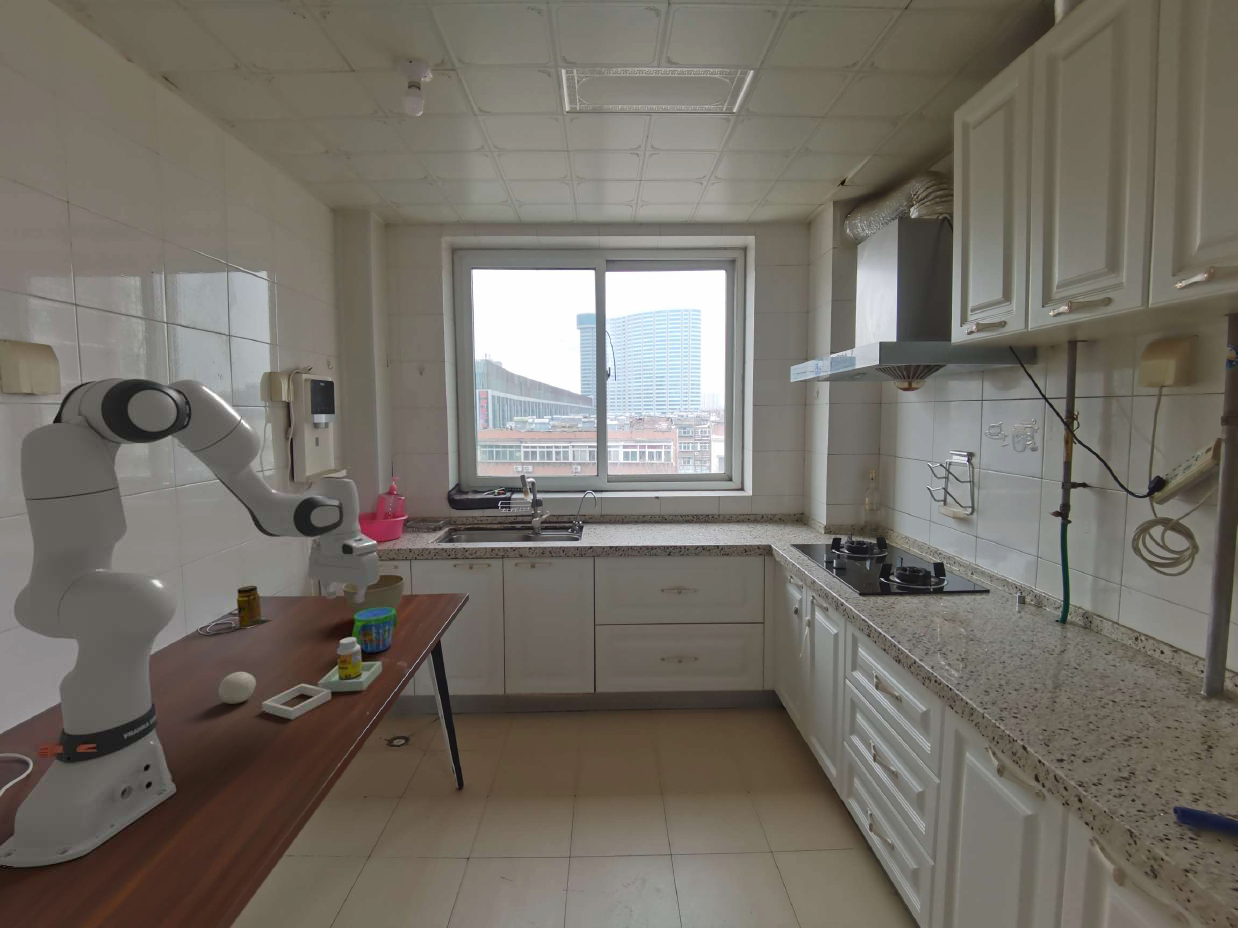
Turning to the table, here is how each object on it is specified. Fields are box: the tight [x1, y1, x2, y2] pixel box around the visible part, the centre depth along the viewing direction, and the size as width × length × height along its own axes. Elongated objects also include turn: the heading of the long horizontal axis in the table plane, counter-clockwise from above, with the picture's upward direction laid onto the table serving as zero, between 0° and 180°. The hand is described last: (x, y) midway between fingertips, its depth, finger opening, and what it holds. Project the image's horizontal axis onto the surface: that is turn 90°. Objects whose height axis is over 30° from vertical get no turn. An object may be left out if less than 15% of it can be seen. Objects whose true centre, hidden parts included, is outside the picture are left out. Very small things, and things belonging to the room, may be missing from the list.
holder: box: [261, 683, 332, 720], centre depth 126 cm, size 10×10×2 cm
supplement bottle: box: [336, 636, 363, 680], centre depth 137 cm, size 5×5×10 cm
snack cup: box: [351, 607, 399, 653], centre depth 157 cm, size 16×10×10 cm
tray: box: [317, 661, 383, 693], centre depth 137 cm, size 11×11×2 cm
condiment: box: [233, 585, 273, 629], centre depth 181 cm, size 7×8×12 cm
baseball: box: [218, 671, 257, 705], centre depth 129 cm, size 7×7×7 cm
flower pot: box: [342, 574, 405, 615], centre depth 181 cm, size 18×18×12 cm
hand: (345, 599), depth 136 cm, fingers open, 8 cm apart
